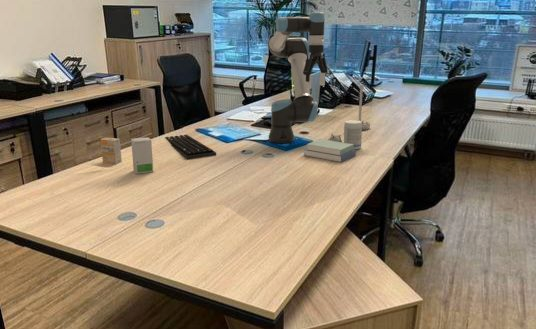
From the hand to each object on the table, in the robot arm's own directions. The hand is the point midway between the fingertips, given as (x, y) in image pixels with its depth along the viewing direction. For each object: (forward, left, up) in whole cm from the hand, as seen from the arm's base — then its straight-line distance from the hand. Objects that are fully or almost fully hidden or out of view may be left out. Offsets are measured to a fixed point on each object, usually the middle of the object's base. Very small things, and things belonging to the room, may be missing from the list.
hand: (315, 86), depth 231 cm
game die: (+9, +13, -26) cm, 31 cm away
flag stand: (-3, +61, -35) cm, 70 cm away
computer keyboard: (-60, -36, -35) cm, 79 cm away
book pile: (+11, -2, -35) cm, 36 cm away
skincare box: (-46, -77, -35) cm, 96 cm away
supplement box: (-68, -79, -35) cm, 110 cm away
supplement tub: (+13, +19, -35) cm, 42 cm away
